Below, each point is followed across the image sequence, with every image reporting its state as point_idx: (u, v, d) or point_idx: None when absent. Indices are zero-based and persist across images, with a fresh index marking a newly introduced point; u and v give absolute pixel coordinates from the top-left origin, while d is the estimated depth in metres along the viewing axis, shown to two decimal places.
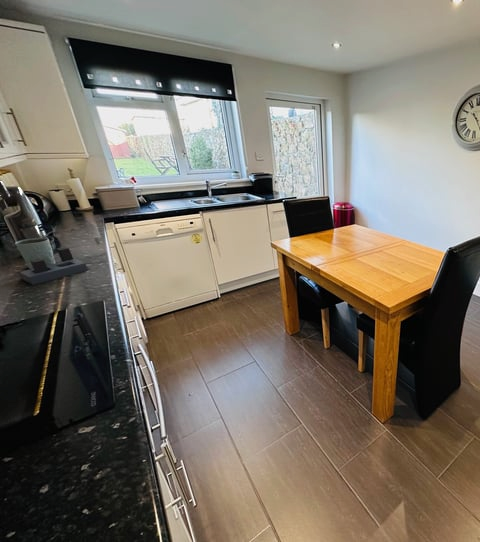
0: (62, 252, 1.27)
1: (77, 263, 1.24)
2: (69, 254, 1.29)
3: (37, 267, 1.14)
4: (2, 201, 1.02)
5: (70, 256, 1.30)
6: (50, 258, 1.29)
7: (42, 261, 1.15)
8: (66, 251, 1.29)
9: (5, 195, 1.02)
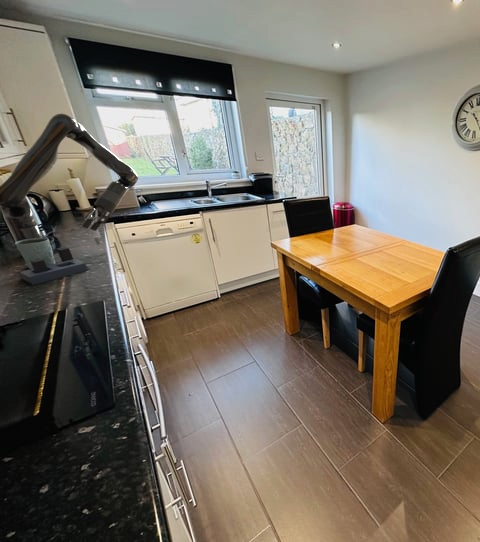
0: (62, 252, 1.27)
1: (77, 263, 1.24)
2: (69, 254, 1.29)
3: (37, 267, 1.14)
4: (95, 223, 1.33)
5: (70, 256, 1.30)
6: (50, 258, 1.29)
7: (42, 261, 1.15)
8: (66, 251, 1.29)
9: (98, 219, 1.33)
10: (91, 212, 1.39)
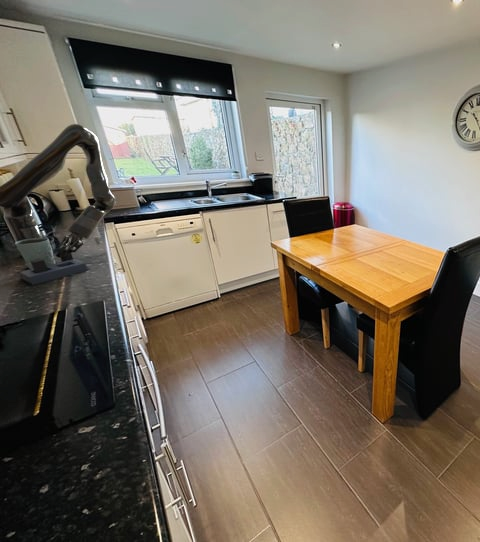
0: (62, 252, 1.27)
1: (77, 263, 1.24)
2: None
3: (37, 267, 1.14)
4: (66, 252, 1.28)
5: (69, 256, 1.30)
6: (50, 258, 1.29)
7: (42, 261, 1.15)
8: None
9: (69, 248, 1.27)
10: None
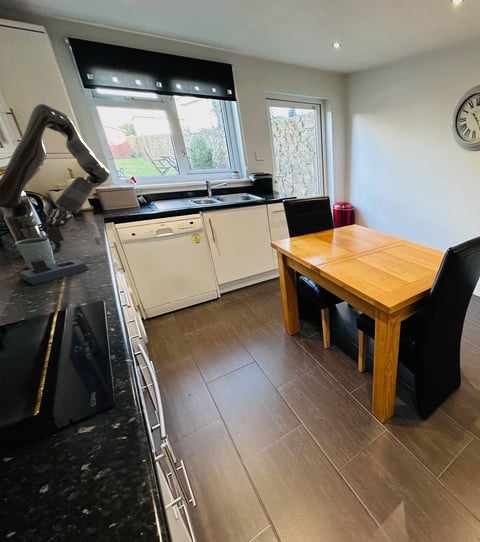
0: (49, 226, 1.17)
1: (77, 263, 1.24)
2: (57, 229, 1.19)
3: (37, 267, 1.14)
4: (53, 226, 1.17)
5: (57, 231, 1.19)
6: (50, 258, 1.29)
7: (42, 261, 1.15)
8: None
9: (56, 221, 1.17)
10: None
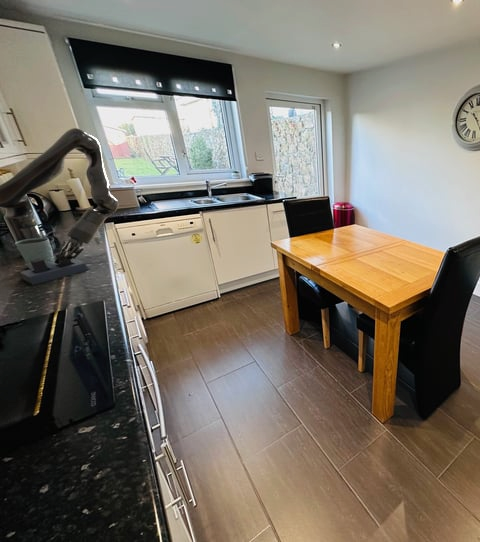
0: (61, 258, 1.20)
1: (77, 263, 1.24)
2: None
3: (37, 267, 1.14)
4: (65, 258, 1.20)
5: (69, 262, 1.23)
6: (50, 258, 1.29)
7: (42, 261, 1.15)
8: None
9: (68, 254, 1.20)
10: None
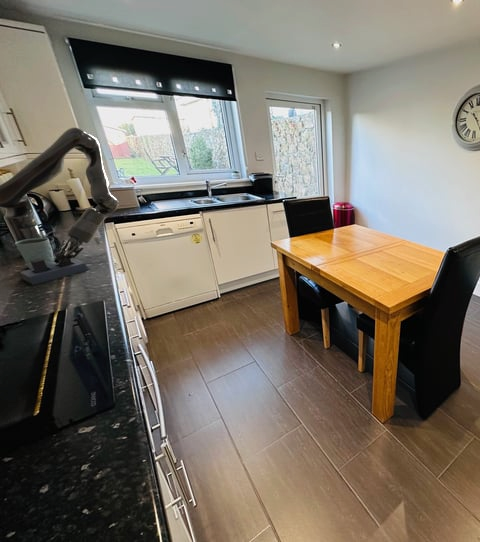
0: (61, 258, 1.20)
1: (77, 263, 1.24)
2: None
3: (37, 267, 1.14)
4: (64, 257, 1.20)
5: (69, 262, 1.23)
6: (50, 258, 1.29)
7: (42, 261, 1.15)
8: None
9: (68, 253, 1.20)
10: None
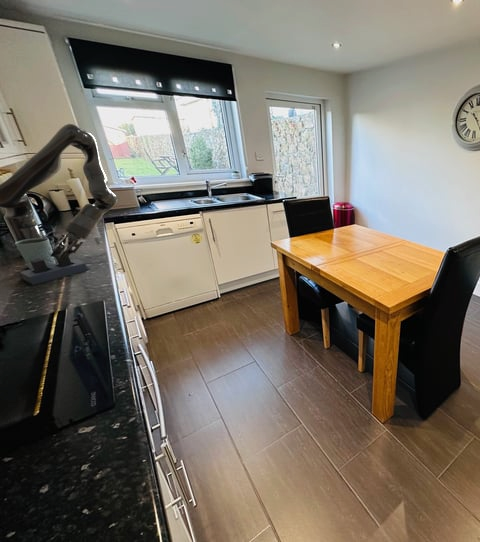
0: None
1: (77, 263, 1.24)
2: (68, 261, 1.22)
3: (37, 267, 1.14)
4: (65, 252, 1.19)
5: (69, 263, 1.23)
6: (50, 258, 1.29)
7: (42, 261, 1.15)
8: None
9: (68, 248, 1.19)
10: None
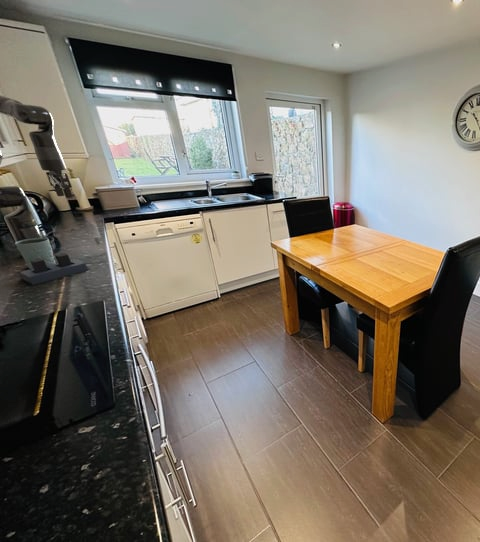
0: (61, 259, 1.20)
1: (77, 263, 1.24)
2: (68, 261, 1.22)
3: (37, 267, 1.14)
4: (65, 190, 1.23)
5: (69, 263, 1.23)
6: (50, 258, 1.29)
7: (42, 261, 1.15)
8: (65, 257, 1.21)
9: (63, 186, 1.21)
10: (50, 177, 1.25)
